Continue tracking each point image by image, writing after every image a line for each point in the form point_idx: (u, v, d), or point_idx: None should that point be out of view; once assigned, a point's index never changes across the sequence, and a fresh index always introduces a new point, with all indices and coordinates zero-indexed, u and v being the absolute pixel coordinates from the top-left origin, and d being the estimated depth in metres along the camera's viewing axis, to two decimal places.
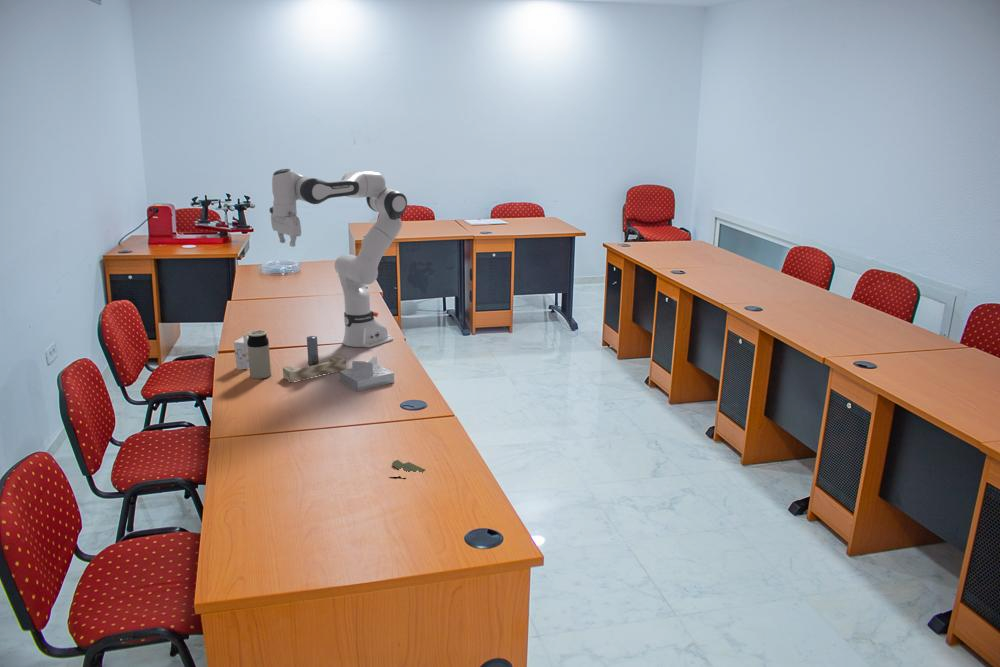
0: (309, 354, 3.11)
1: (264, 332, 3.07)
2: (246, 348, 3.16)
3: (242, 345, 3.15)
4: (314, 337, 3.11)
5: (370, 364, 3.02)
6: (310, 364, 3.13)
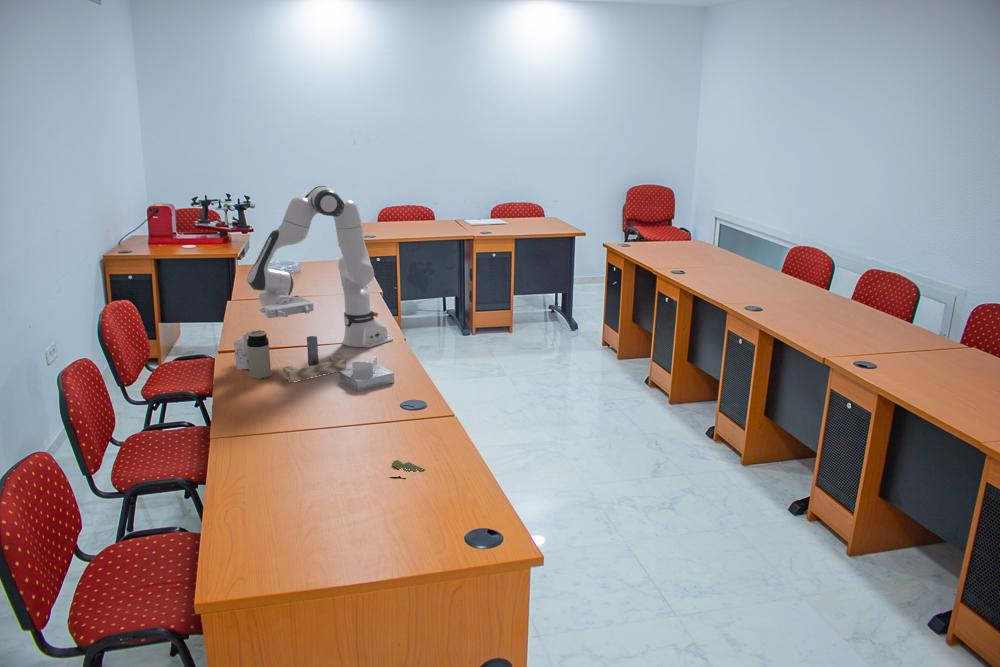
0: (309, 354, 3.11)
1: (264, 332, 3.07)
2: (246, 348, 3.16)
3: (242, 345, 3.15)
4: (314, 337, 3.11)
5: (370, 364, 3.02)
6: (310, 364, 3.13)
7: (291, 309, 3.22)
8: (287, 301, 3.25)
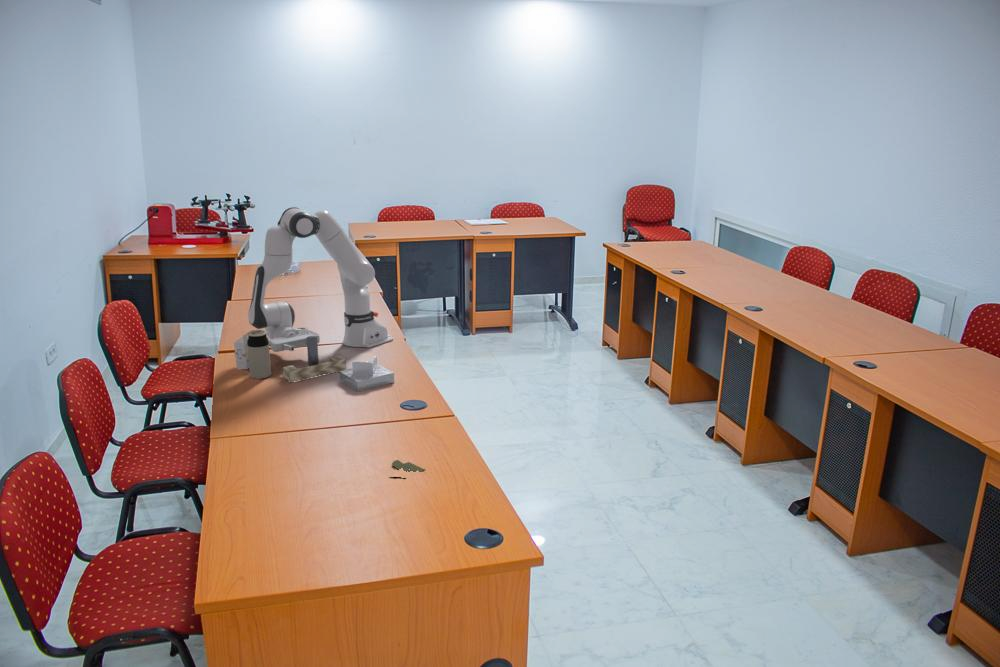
0: (309, 354, 3.11)
1: (264, 332, 3.07)
2: (246, 348, 3.16)
3: (242, 345, 3.15)
4: (314, 337, 3.11)
5: (370, 364, 3.02)
6: (310, 364, 3.13)
7: (297, 342, 3.23)
8: (293, 334, 3.27)
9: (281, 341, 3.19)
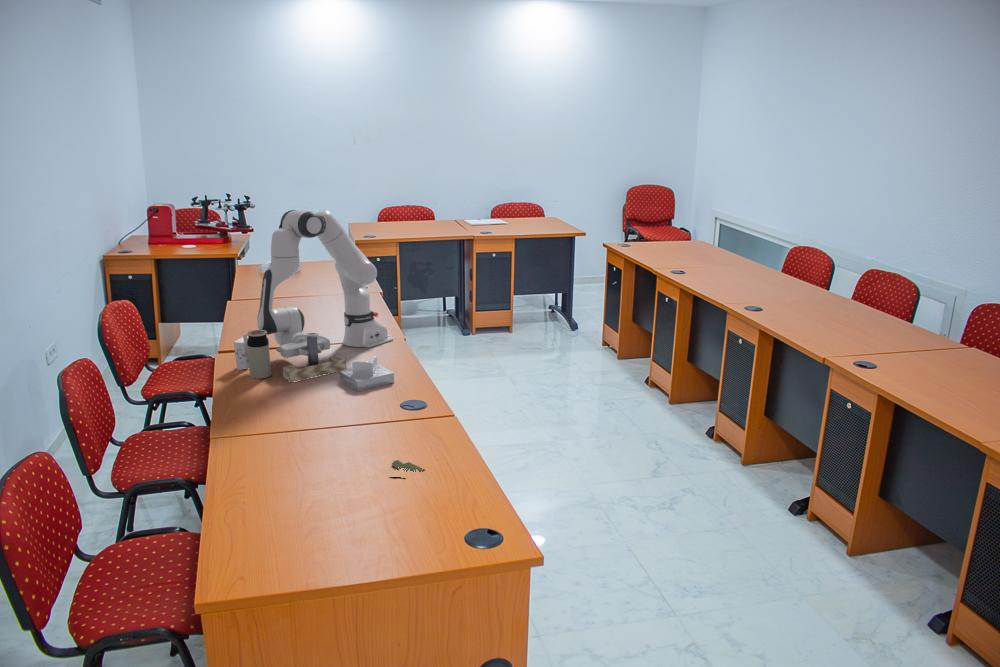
0: (309, 354, 3.11)
1: (264, 332, 3.07)
2: (246, 348, 3.16)
3: (242, 345, 3.15)
4: (314, 337, 3.11)
5: (370, 364, 3.02)
6: (310, 364, 3.13)
7: None
8: (303, 339, 3.20)
9: (291, 347, 3.12)
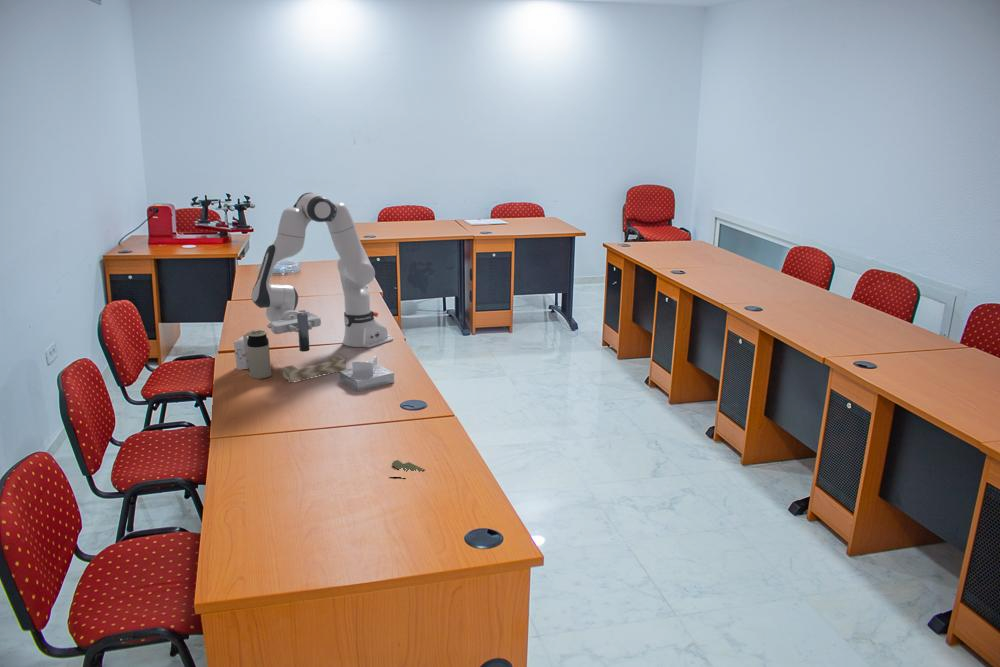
0: None
1: (264, 332, 3.07)
2: (246, 348, 3.16)
3: (242, 345, 3.15)
4: (304, 314, 3.15)
5: (370, 364, 3.02)
6: (300, 341, 3.16)
7: None
8: (294, 316, 3.23)
9: (282, 323, 3.16)
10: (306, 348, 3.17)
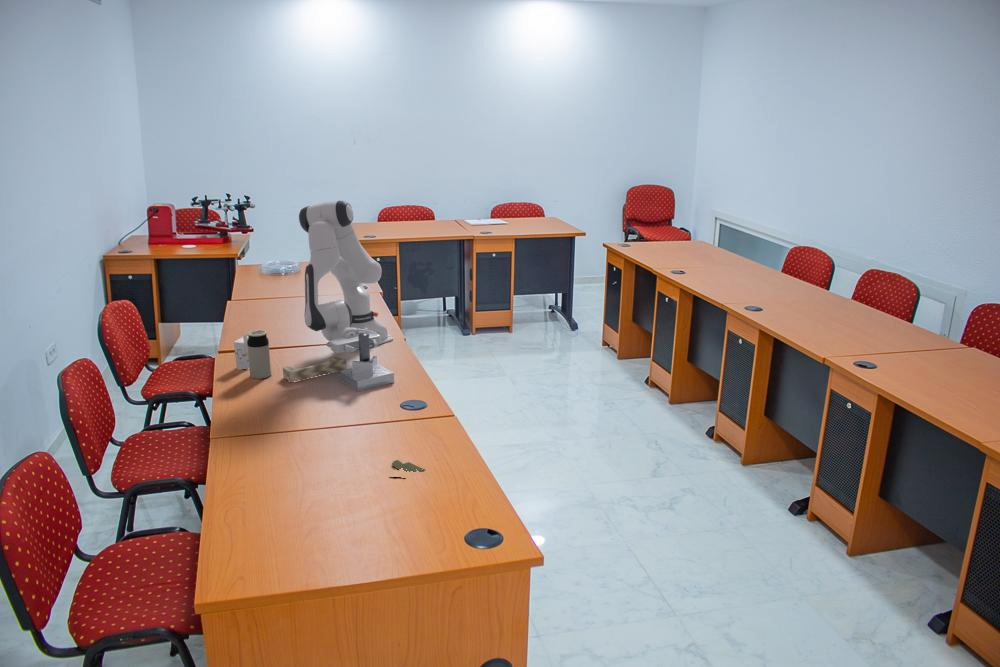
0: (361, 351, 3.03)
1: (264, 332, 3.07)
2: (246, 348, 3.16)
3: (242, 345, 3.15)
4: (366, 334, 3.03)
5: (370, 364, 3.02)
6: None
7: (358, 343, 3.07)
8: (353, 334, 3.11)
9: (342, 342, 3.04)
10: None
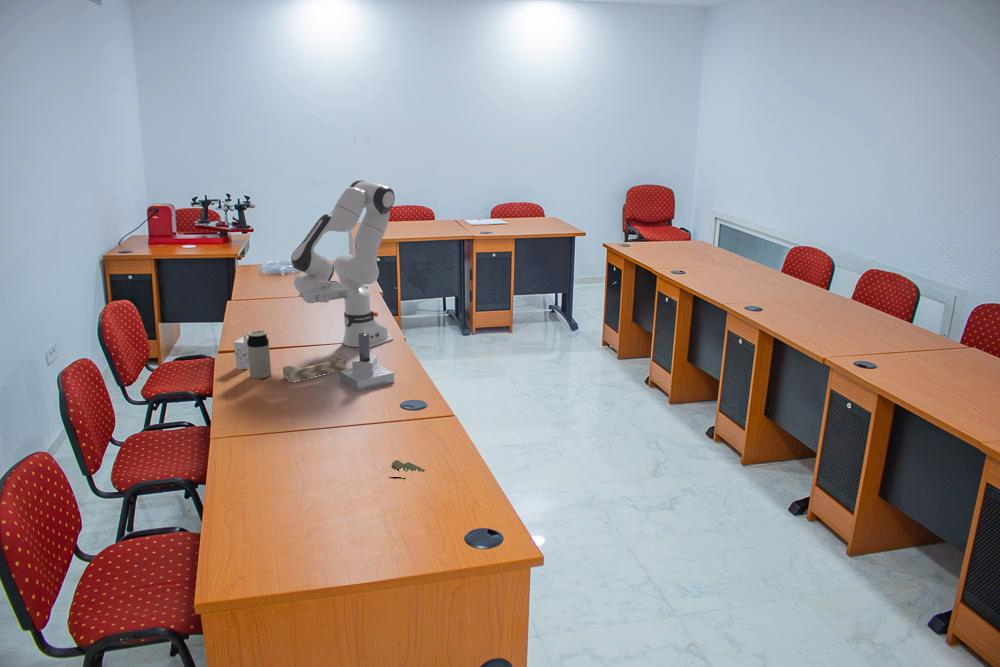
0: (361, 351, 3.03)
1: (264, 332, 3.07)
2: (246, 348, 3.16)
3: (242, 345, 3.15)
4: (366, 334, 3.03)
5: (370, 364, 3.02)
6: None
7: (330, 294, 3.15)
8: (326, 286, 3.18)
9: (315, 292, 3.10)
10: None
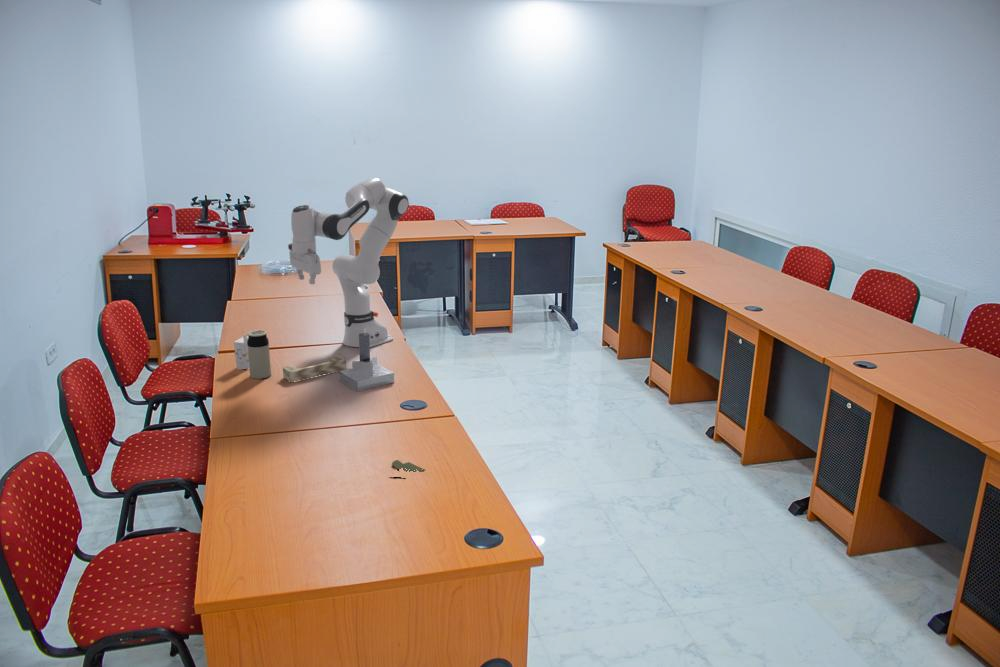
0: (361, 351, 3.03)
1: (264, 332, 3.07)
2: (246, 348, 3.16)
3: (242, 345, 3.15)
4: (366, 334, 3.03)
5: (370, 364, 3.02)
6: None
7: None
8: None
9: None
10: None
